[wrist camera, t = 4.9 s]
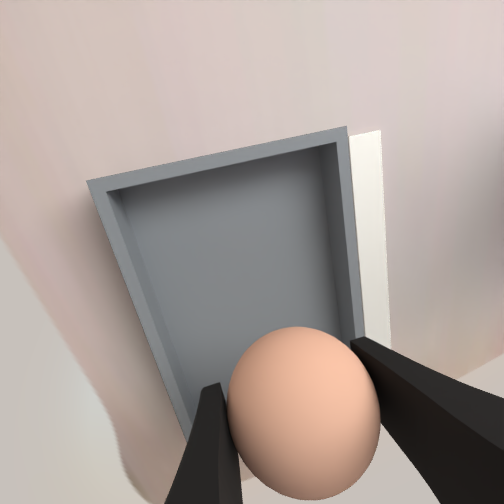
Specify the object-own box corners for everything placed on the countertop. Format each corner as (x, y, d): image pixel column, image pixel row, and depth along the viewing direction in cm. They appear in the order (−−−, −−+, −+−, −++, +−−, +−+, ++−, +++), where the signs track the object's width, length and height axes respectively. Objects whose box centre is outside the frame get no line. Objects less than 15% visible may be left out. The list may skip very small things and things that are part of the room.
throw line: (379, 130, 16) (380, 129, 16) (390, 351, 21) (391, 352, 21) (348, 136, 16) (348, 136, 16) (366, 359, 21) (367, 360, 21)
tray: (322, 132, 16) (346, 125, 13) (348, 360, 21) (368, 385, 18) (104, 178, 14) (86, 180, 12) (189, 412, 19) (188, 447, 17)
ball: (329, 290, 11) (423, 374, 7) (337, 386, 13) (418, 509, 8) (208, 319, 11) (220, 437, 6) (232, 417, 12) (255, 571, 8)
